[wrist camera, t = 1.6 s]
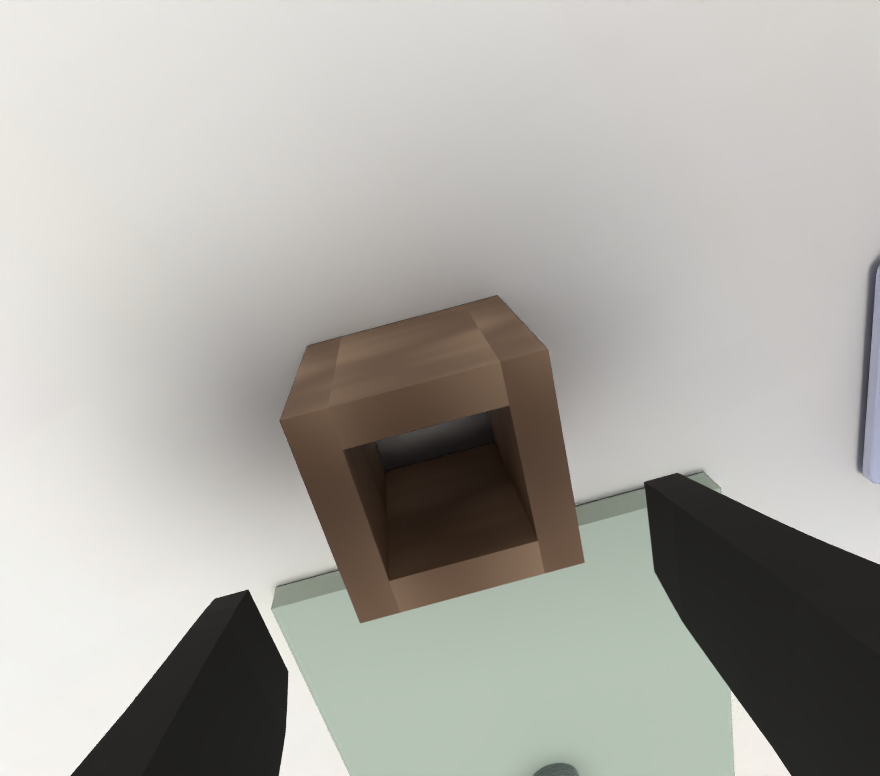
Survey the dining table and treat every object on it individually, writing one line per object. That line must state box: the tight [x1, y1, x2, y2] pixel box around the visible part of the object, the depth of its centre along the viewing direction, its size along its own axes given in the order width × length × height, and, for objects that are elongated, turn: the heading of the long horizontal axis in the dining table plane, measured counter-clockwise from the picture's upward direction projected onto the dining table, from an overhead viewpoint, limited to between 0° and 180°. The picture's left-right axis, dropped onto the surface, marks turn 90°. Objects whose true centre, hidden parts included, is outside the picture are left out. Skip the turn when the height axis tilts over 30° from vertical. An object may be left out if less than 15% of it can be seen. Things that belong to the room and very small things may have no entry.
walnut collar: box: [280, 295, 585, 623], centre depth 15 cm, size 6×6×5 cm
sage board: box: [271, 472, 735, 776], centre depth 22 cm, size 15×20×1 cm
